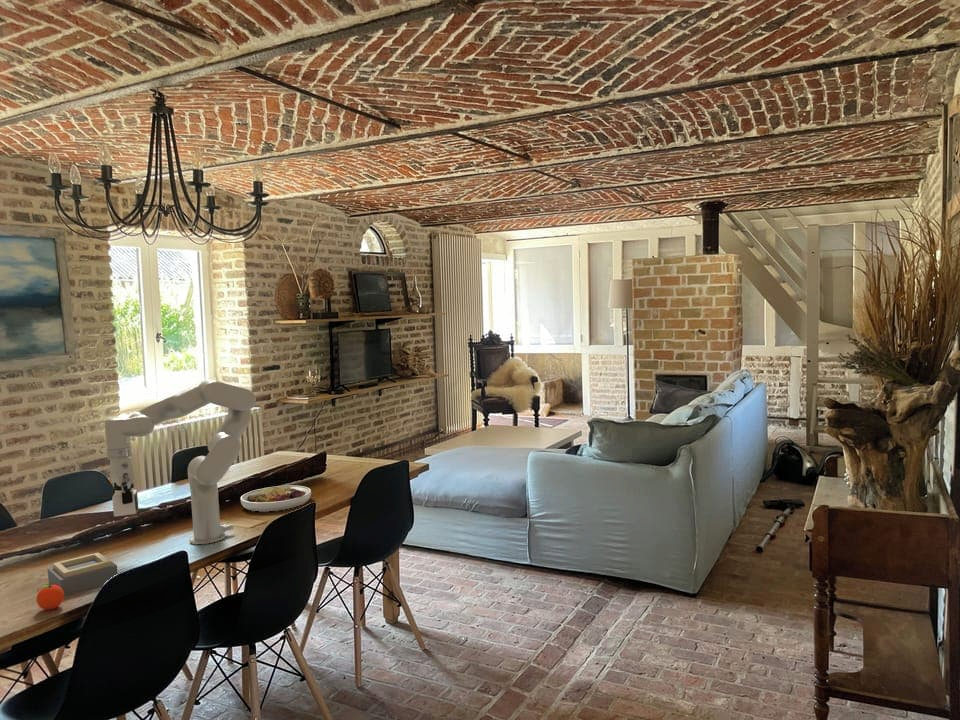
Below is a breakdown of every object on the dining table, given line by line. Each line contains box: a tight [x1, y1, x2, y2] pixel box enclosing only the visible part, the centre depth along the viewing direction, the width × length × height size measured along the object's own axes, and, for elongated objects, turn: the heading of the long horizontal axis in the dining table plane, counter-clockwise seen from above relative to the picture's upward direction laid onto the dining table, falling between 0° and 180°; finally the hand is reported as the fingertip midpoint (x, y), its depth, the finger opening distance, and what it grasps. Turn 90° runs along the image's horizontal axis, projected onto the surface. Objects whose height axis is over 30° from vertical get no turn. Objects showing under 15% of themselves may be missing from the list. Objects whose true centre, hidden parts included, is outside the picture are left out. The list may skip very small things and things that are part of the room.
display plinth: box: [46, 552, 119, 596], centre depth 225 cm, size 16×16×6 cm
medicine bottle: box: [111, 482, 139, 518], centre depth 247 cm, size 7×7×12 cm
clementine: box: [35, 584, 65, 611], centre depth 205 cm, size 8×7×7 cm
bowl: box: [240, 484, 312, 513], centre depth 312 cm, size 30×30×8 cm
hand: (123, 501), depth 247 cm, fingers closed on medicine bottle, 9 cm apart
